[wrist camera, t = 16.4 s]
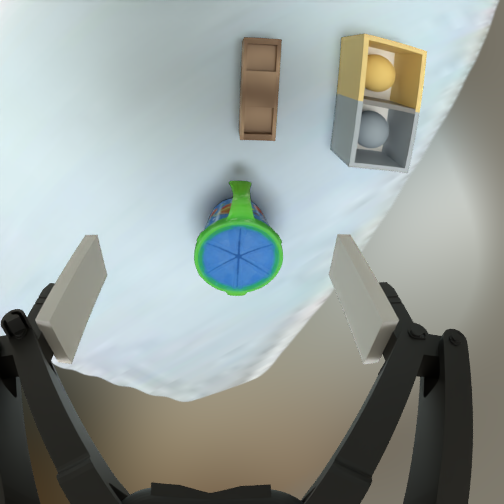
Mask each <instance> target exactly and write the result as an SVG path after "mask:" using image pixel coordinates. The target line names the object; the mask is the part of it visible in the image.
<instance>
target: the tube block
mask: <svg viewBox="0 0 504 504" xmlns="http://www.w3.org/2000/svg"><path fill="white" fill-rule="evenodd" d="M370 54H377V55H381V56H383V57H385V58H387V59H388V60H389V61H390V62H391V63H392V65H393V67H394V69H395V74H396V77H395V81H394V83H393V85H392V86H391V87H390V88H389V89H387V90H385V91H382V92H374V91H370V90H368V89H366V88H365V80H366V70H367V59H368V55H370ZM426 55H427V51H424V50H421V49H418V48H415V47H412V46H408V45H405V44H402V43H398V42H395V41H391V40H387V39H384V38H380V37H376V36H372V35H367V34H360V35H353V36H347V37H342V38H341V52H340V64H339V76H338V86H337V97H336V106H335V115H334V124H333V133H332V141H331V150H332V151H333V152H334V153H335V154H336V155H337V156H338V157H339V158H340V159H341V160H342V161H343V162H344V163H345V164H346V165H347V166H348V167H354V168H365V169H375V170H384V171H393V172H402V173H408V171H409V166H410V161H411V156H412V151H413V146H414V141H415V136H416V130H417V124H418V118H419V112H420V105H421V99H422V91H423V83H424V75H425V66H426ZM369 110H370V111H375V112H377V113H379V114H381V115H382V116H383V117H384V118H385V120H386V121H387V123H388V126H389V135H388V138H387V140H386V142H385V143H384V144H383V145H381V146H380V147H377V148H366V147H363V146H361V145H360V144H358V137H359V129H360V122H361V115H362V112H363V111H369Z"/></svg>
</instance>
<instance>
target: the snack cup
mask: <svg viewBox="0 0 504 504" xmlns="http://www.w3.org/2000/svg"><path fill="white" fill-rule="evenodd" d="M229 184H230V186H231V188H232V192H233V198H231V199H227V200H225V201H223V202H221V203H220V204H218V205H217V206H216V207H215V208H214V210H213V211H212V213H211V215H210V217H209V221H208V222H207V225H206V227H205V229H204V231H203V232H201V234H200V235H199V237H198V238H197V243H196V247H195V252H194V261H195V266H196V269H197V271H198V273H199V275H200V276H201V277H202V278H203V279H204V281H206V282H207V283H208V284H209V285H211V286H212V287H214V288H216V289H218V290H221V291H225V292H226V293H227V294H228V295H232V296H242V295H245V294H246V293H247V292H251V291H254V290H257V289H259V288H261V287H263V286H265V285H266V284H268V283H269V282H270V281H271V280H272V279H273V278H274V277H275V276H276V275H277V273H278V272H279V270H280V268H281V265H282V262H283V251H282V246H281V243H282V241H281V239H280V237H279V235H278V234H277V233H276V232H275V231H274V230H273V229H272V228H271V227H270V226H269V224H268V222H267V221H266V219H265V217H264V215H263V213H262V212H261V210H260V209H259V208H258V207H257V206H256V205H255V204H254V203H253V202H251V199H250V187H251V182H248V181H230V182H229Z"/></svg>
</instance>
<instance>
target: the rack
mask: <svg viewBox="0 0 504 504" xmlns="http://www.w3.org/2000/svg"><path fill="white" fill-rule="evenodd" d="M281 41H282V40H280V39H267V38H248V37H244V39H243V41H242V60H241V85H240V112H239V135H240V140H267V141H275V137H276V122H277V107H278V91H279V75H280V59H281Z"/></svg>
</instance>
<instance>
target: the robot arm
mask: <svg viewBox="0 0 504 504" xmlns="http://www.w3.org/2000/svg"><path fill="white" fill-rule="evenodd" d="M329 276H330V279H331V281H332V284H333V286H334V289H335V291H336V294H337V296H338V299H339V301H340V303H341V306H342V309H343V311H344V314H345V316H346V319H347V321H348V324H349V327H350V329H351V332H352V335H353V337H354V340H355V343H356V345H357V348H358V350H359V353H360V356H361V358H362V362H363V364H369V363H377V362H379V360H380V358H381V356H382V354H383V356H384V358H385V363H384V364H383V366H382V368H381V370H380V372H379V373H378V377H377V379H376V381H375V383H374V385H373V387H372V389H371V391H370V392H369V394H368V396H367V398H366V400H365V402H364V404H363V406H362V407H361V409H360V411H359V413H358V415H357V416H356V418H355V420H354V422H353V423H352V425H351V427H350V429H349V430H348V432H347V434H346V435H345V437H344V439H343V440H342V442H341V443H340V445H339V447H338V448H337V450H336V452H335V453H334V455H333V456H332V458H331V459H330V461H329V462H328V464H327V465H326V467H325V469H324V470H323V471H322V473H321V474H320V476H319V477H318V478H317V480H316V481H315V483H314V484H313V486H311V488H310V489H309V490H308V492H307V493H306V494H305V496H304V497H303V498H302V500H301V501H300V500H299V499H297V498H296V497H294V496H291V495H290V494H287V493H284V492H281V491H277V490H271V486H270V485H255V486H240V487H235V488H231V489H227V490H223V491H219V492H214V493H207V492H203V491H199V490H196V489H192V488H188V487H185V486H181V485H172V484H161V483H151V488H147V489H143V490H140V491H137V492H135V493H133V494H131V495H130V494H129V493H128V491H127V490H126V489H125V488H124V487H123V485H122V484H121V483H120V482H119V481H118V480H117V478H116V477H115V476H114V474H113V473H112V472H111V470H110V468H109V467H108V465H107V464H106V462H105V461H104V459H103V458H102V456H101V454H100V453H99V451H98V450H97V448H96V447H95V445H94V443H93V442H92V440H91V438H90V436H89V435H88V433H87V431H86V429H85V428H84V426H83V424H82V422H81V420H80V419H79V417H78V415H77V413H76V411H75V409H74V407H73V405H72V403H71V401H70V399H69V397H68V395H67V393H66V392H65V389H64V387H63V385H62V383H61V381H60V378H59V376H58V374H57V372H56V369H55V367H54V365H53V363H52V361H51V359H52V357H53V354H54V356H55V357H56V359H57V361H58V362H61V363H68V364H72V362H73V359H74V356H75V353H76V351H77V348H78V345H79V342H80V340H81V337H82V335H83V332H84V329H85V327H86V324H87V322H88V319H89V317H90V314H91V312H92V309H93V307H94V305H95V302H96V300H97V298H98V295H99V293H100V291H101V288H102V286H103V284H104V281H105V279H106V277H107V272H106V268H105V264H104V260H103V256H102V252H101V248H100V244H99V239H98V235H85V237H84V238H83V240H82V241H81V243H80V244H79V246H78V247H77V249H76V250H75V252H74V254H73V255H72V257H71V258H70V260H69V262H68V263H67V265H66V266H65V268H64V270H63V271H62V273H61V275H60V276H59V278H58V280H57V281H56V283H55V284H54V283H50V284H49V285H48V286H46V287H45V288H44V289H43V290H42V292H41V294H40V295H39V298H38V299H37V301H36V302H35V304H34V306H33V308H32V309H31V311H30V313H29V315H28V317H26V315H25V313H24V312H23V311H22V310H20V309H15V310H12V311H10V312H8V313H7V314H6V315H5V316H4V317H3V318H2V321H1V327H2V328H3V330H4V332H5V333H6V335H5V336H0V504H40V500H39V497H38V493H37V489H36V485H35V481H34V476H33V472H32V467H31V462H30V457H29V452H28V445H27V439H26V433H25V426H24V417H23V407H22V396H21V384H22V387H23V390H24V393H25V396H26V399H27V401H28V404H29V407H30V410H31V413H32V415H33V417H34V420H35V423H36V425H37V428H38V430H39V432H40V435H41V437H42V439H43V441H44V444H45V446H46V448H47V450H48V452H49V454H50V456H51V459H52V460H53V463H54V464H55V466H56V468H57V471H58V474H57V480H58V482H59V484H60V486H61V488H62V490H63V491H64V493H65V495H66V497H67V498H68V500H69V502H70V504H360V503H361V500H362V499H363V498H364V496H365V494H366V493H367V491H368V489H369V487H370V485H371V482H372V475H373V473H374V471H375V469H376V467H377V465H378V463H379V461H380V459H381V457H382V455H383V453H384V451H385V449H386V447H387V445H388V443H389V441H390V439H391V437H392V434H393V432H394V430H395V428H396V426H397V424H398V421H399V419H400V417H401V414H402V412H403V409H404V407H405V405H406V402H407V400H408V397H409V394H410V392H411V389H412V387H413V384H414V381H415V378H416V376H420V393H419V405H418V417H417V425H416V434H415V442H414V448H413V455H412V462H411V467H410V473H409V479H408V483H407V489H406V493H405V498H404V502H403V504H468V499H469V490H470V480H471V468H472V448H473V406H472V386H471V373H470V363H469V353H468V345H467V340H466V338H465V336H464V335H463V334H462V333H461V332H460V331H458V330H455V329H448V330H446V331H445V332H444V333H443V335H442V336H437V335H431V334H428V333H427V331H426V329H425V328H424V327H422V326H421V325H419V324H416V323H413V321H412V319H411V317H410V316H409V314H408V312H407V310H406V309H405V307H404V305H403V304H402V302H401V300H400V298H399V297H398V295H397V293H396V291H395V290H394V288H392V287H391V286H390V285H389V284H388V283H387V282H381V283H378V281H377V279H376V277H375V276H374V274H373V272H372V270H371V269H370V267H369V265H368V263H367V262H366V260H365V258H364V257H363V255H362V253H361V252H360V250H359V248H358V247H357V245H356V243H355V242H354V240H353V238H352V237H351V235H342V234H337V239H336V244H335V249H334V253H333V258H332V263H331V267H330V272H329Z"/></svg>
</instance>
